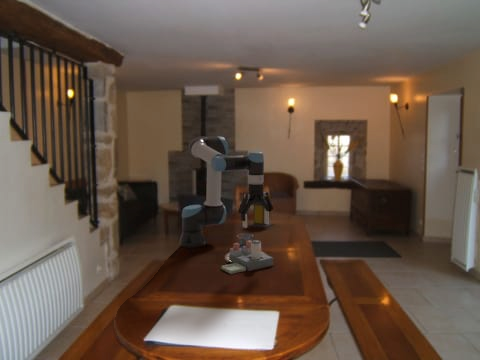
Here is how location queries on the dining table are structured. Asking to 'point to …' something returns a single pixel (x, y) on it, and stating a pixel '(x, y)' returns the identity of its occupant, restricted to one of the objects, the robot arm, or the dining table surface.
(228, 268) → the tray
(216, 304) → the dining table surface
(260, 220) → the lantern
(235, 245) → the plunger
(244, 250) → the housing
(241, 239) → the mug
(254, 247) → the cylinder
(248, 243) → the plunger
